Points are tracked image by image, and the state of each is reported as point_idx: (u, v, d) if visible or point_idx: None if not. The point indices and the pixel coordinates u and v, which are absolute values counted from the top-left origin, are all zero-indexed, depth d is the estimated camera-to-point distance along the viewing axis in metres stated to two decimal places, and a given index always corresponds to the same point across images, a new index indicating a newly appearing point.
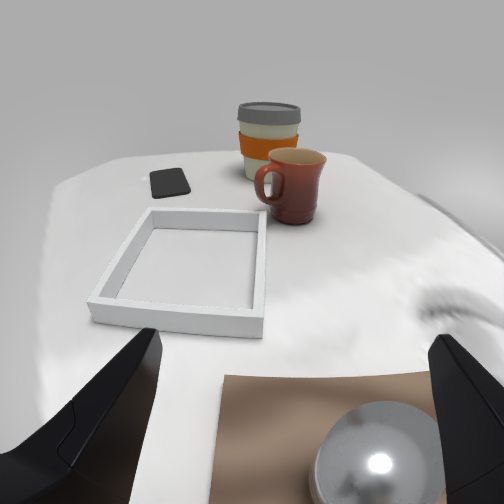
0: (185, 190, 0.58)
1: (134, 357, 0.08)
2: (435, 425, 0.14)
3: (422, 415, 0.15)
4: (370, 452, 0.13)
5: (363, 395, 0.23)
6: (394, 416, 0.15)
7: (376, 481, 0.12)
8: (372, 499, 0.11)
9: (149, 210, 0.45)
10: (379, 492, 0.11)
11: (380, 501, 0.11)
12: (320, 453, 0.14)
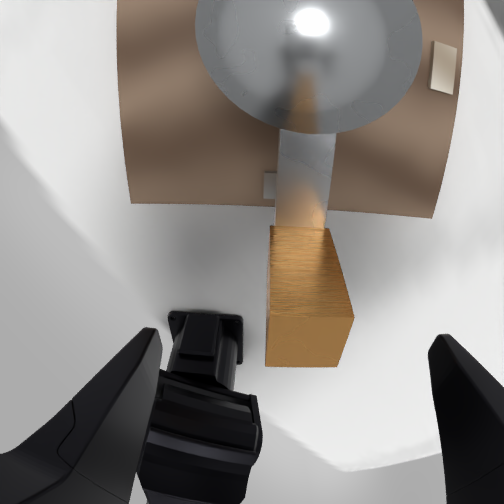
0: None
1: (134, 357, 0.08)
2: (408, 1, 0.07)
3: None
4: (282, 5, 0.08)
5: None
6: None
7: (284, 53, 0.09)
8: (274, 81, 0.10)
9: None
10: (287, 72, 0.09)
11: (286, 87, 0.10)
12: (199, 1, 0.08)
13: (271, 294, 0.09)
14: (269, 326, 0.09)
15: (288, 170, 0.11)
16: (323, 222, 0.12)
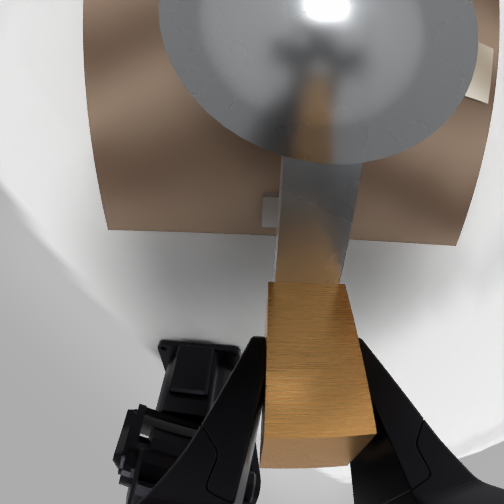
0: None
1: (257, 369, 0.07)
2: None
3: None
4: None
5: None
6: None
7: (290, 46, 0.06)
8: (274, 87, 0.06)
9: None
10: (293, 74, 0.06)
11: (291, 96, 0.07)
12: None
13: (267, 402, 0.06)
14: (264, 443, 0.06)
15: (294, 213, 0.08)
16: (338, 277, 0.09)
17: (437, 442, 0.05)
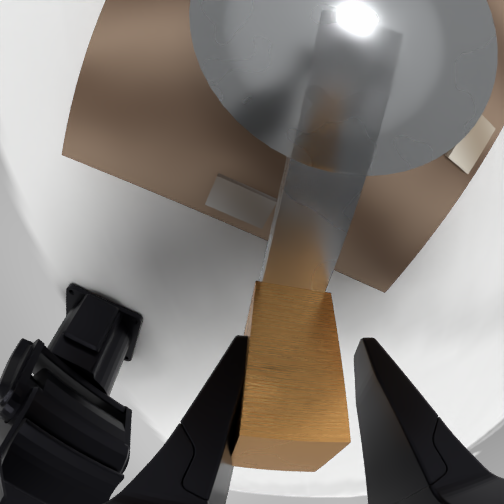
0: None
1: (238, 368, 0.07)
2: (488, 18, 0.04)
3: None
4: None
5: None
6: None
7: (314, 51, 0.06)
8: (292, 89, 0.07)
9: None
10: (313, 79, 0.06)
11: (308, 101, 0.07)
12: None
13: (245, 399, 0.06)
14: (238, 440, 0.06)
15: (291, 216, 0.08)
16: (325, 285, 0.10)
17: (452, 438, 0.05)
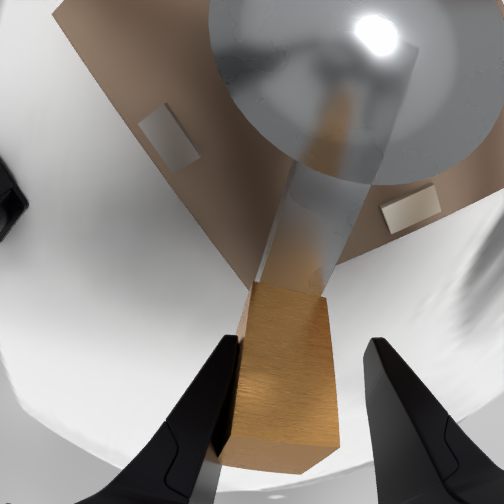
0: None
1: (225, 367, 0.07)
2: (503, 39, 0.05)
3: (489, 2, 0.04)
4: None
5: None
6: None
7: (331, 57, 0.06)
8: (306, 94, 0.07)
9: None
10: (327, 85, 0.06)
11: (320, 107, 0.07)
12: None
13: (238, 399, 0.06)
14: (228, 440, 0.06)
15: (294, 219, 0.08)
16: (321, 290, 0.10)
17: (462, 435, 0.05)
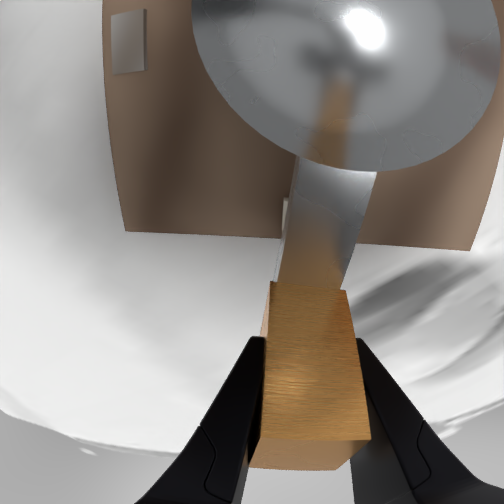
0: None
1: (255, 369, 0.07)
2: (489, 8, 0.04)
3: None
4: None
5: None
6: None
7: (319, 49, 0.06)
8: (299, 88, 0.06)
9: None
10: (320, 77, 0.06)
11: (315, 99, 0.07)
12: None
13: (265, 401, 0.06)
14: (258, 442, 0.06)
15: (304, 215, 0.08)
16: (339, 283, 0.10)
17: (437, 442, 0.05)
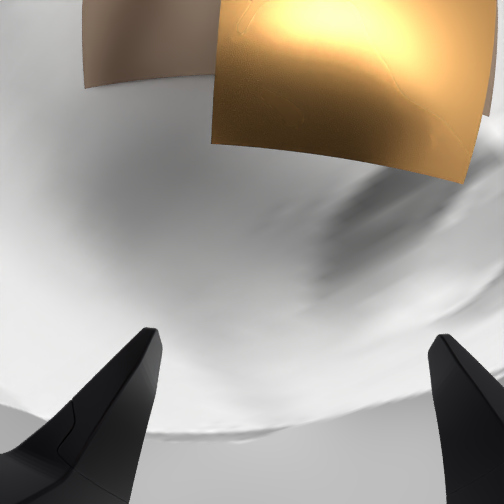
0: None
1: (134, 357, 0.08)
2: None
3: None
4: None
5: None
6: None
7: None
8: None
9: None
10: None
11: None
12: None
13: None
14: None
15: None
16: None
17: None
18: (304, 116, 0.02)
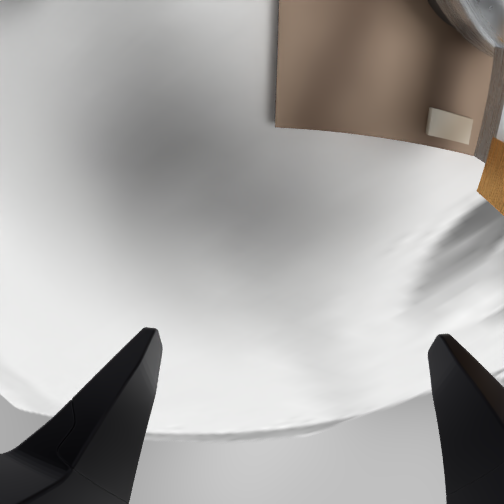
0: None
1: (134, 357, 0.08)
2: None
3: None
4: None
5: None
6: None
7: None
8: None
9: None
10: None
11: None
12: None
13: None
14: None
15: None
16: None
17: None
18: None
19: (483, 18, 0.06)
